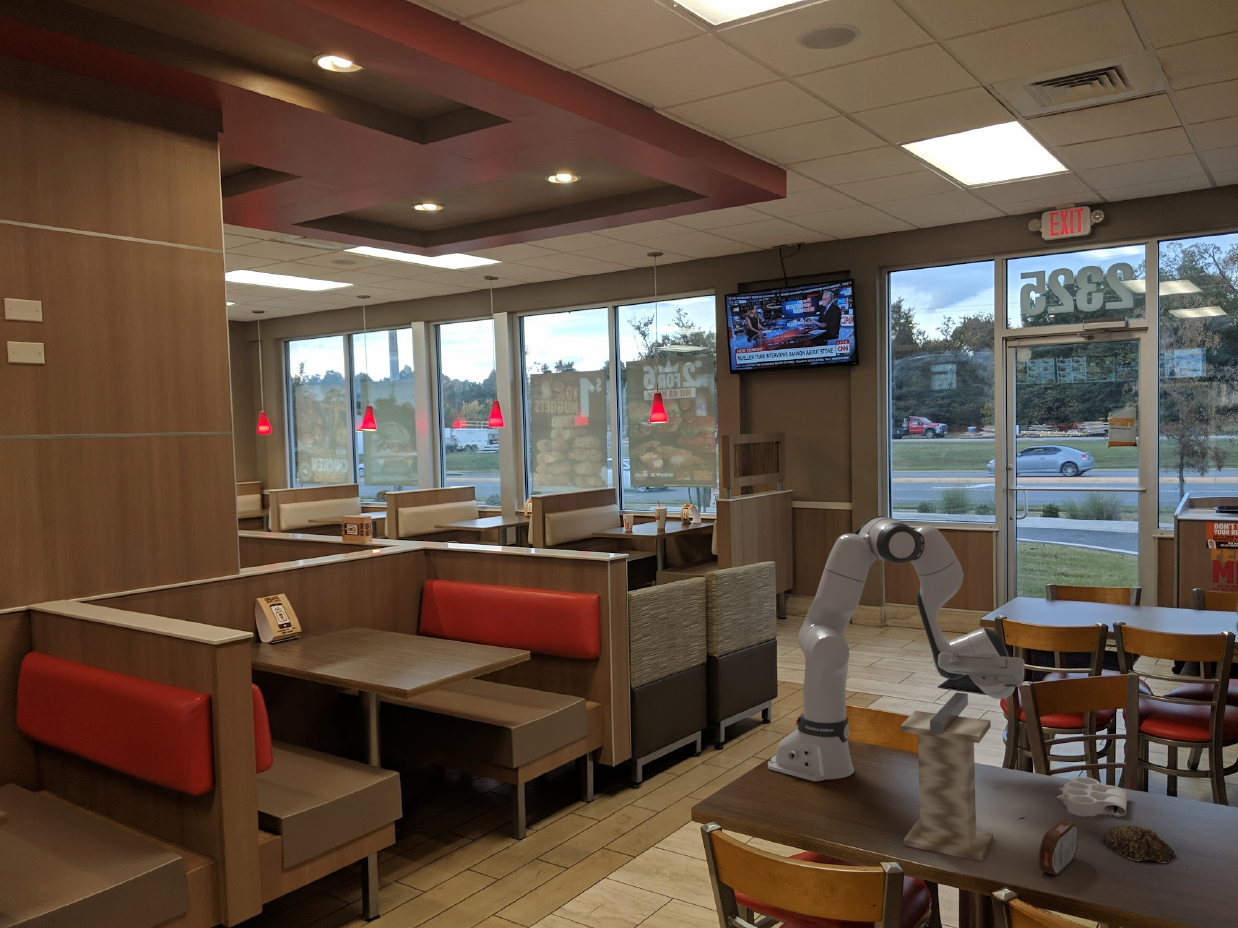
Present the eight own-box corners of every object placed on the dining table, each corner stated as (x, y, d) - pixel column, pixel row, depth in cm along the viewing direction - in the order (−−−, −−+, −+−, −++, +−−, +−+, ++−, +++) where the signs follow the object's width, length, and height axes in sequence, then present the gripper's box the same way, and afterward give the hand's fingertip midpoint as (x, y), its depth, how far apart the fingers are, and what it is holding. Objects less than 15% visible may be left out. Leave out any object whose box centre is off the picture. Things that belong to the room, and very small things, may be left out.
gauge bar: (942, 734, 190) (942, 722, 190) (930, 732, 191) (929, 720, 191) (968, 704, 210) (967, 693, 210) (956, 702, 211) (956, 692, 211)
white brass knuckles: (1125, 824, 204) (1053, 813, 212) (1127, 796, 220) (1060, 786, 227) (1125, 809, 204) (1053, 798, 212) (1127, 782, 220) (1060, 773, 227)
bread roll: (1094, 838, 198) (1094, 815, 198) (1152, 837, 198) (1152, 814, 197) (1125, 865, 185) (1125, 841, 185) (1187, 864, 185) (1187, 840, 185)
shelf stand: (903, 844, 197) (900, 725, 196) (918, 824, 207) (915, 710, 206) (981, 861, 188) (978, 736, 188) (993, 838, 198) (990, 720, 198)
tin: (1065, 852, 191) (1064, 812, 191) (1081, 856, 189) (1080, 816, 189) (1037, 877, 181) (1036, 835, 181) (1053, 883, 179) (1053, 840, 178)
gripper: (946, 656, 241) (931, 641, 230) (1030, 661, 229) (1018, 646, 219) (944, 679, 238) (929, 665, 228) (1029, 686, 227) (1017, 672, 216)
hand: (973, 656), depth 223 cm, fingers open, 8 cm apart
